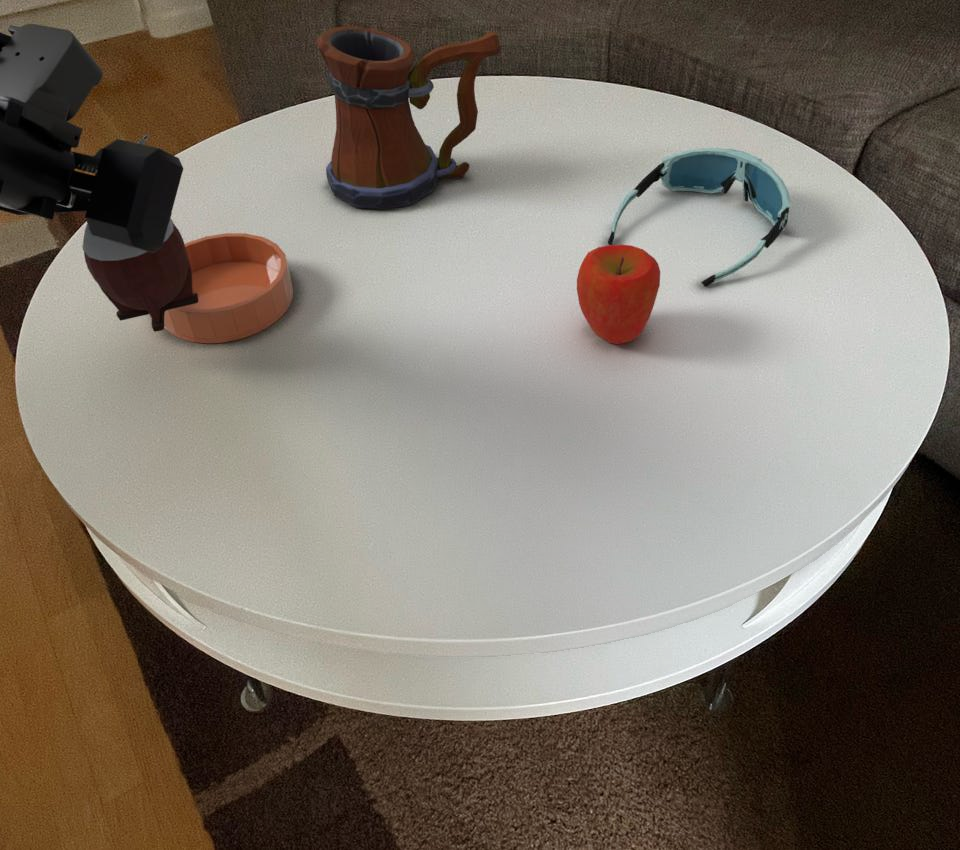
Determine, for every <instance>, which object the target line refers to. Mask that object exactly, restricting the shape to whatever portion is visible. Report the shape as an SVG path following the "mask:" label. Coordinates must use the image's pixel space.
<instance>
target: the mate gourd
mask: <svg viewBox="0 0 960 850" xmlns="http://www.w3.org/2000/svg"><path fill="white" fill-rule="evenodd" d="M148 140H149V135H148V134H144V135H143V136H142V138H141V137H140V139H139V140H138V141H137V142H136V143H138V144H142V145H145V143H146V142H147V141H148ZM184 244H185V242H184V238H183V236H182V233H181V232H180V230H179V229H178V227H177V226H176V225H175V224H174V220H173V219H172V217H171V218H170V222H169V224H168V227H167V231H166V235H165V239H164V242H163V246H162V247H161V248H160V249H158V250H157V251H155V252H154V253H151V252H147V251H143V250H140V249H136V248H133V247H129V246H125V245H122V244H118V243H115V242H112V241H109V240H105V239H102V238H99V237H96V236H93V235H92V234H91V231H90V229H89V226H88V224H87V223H86V225H85V229H84V233H83V240H82V247H81V248H82V251H83V255H84V261H85V264H86V267H87V269H88V271H89V273H90V275H91V277H92V279H94V281H95V282H96V283H97V285H98V286H99V288H100V290H101V291H102V293H103V294H104V295H105V296H106V298H107V299H108V300H109V301H110V303H111V304H112V305H113V306H114V307H115V308H116V309H117V311H116V317H117V318H118V320H119V321H125V320H129V319H134V318H139V317H142V316H143V317H144V316H148V315H149V316H150V318H151V328H152V330H153V332H160V331H163V330H165V328H164V314H165V311H166V310H170V309H174V308H178V307H182V306H187V305H191V304H195V303H198V294H197V293H193V289H192V271H191V266H190V262H189V259H188V255H187V252H186V248H185V245H184Z"/></svg>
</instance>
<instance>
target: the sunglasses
mask: <svg viewBox="0 0 960 850" xmlns="http://www.w3.org/2000/svg"><path fill="white" fill-rule="evenodd" d="M661 161H662V162H661V163H660V164H658V165H657V166H656V167H655V168H654V169H653V170H652V171H650V172H649V173H648V174H646V176H644V178H642V180H641V181H640V182H639V183H638V184H637V185H636V186H635V187H634V188H633V189H632V190H631V191H630V192H628V193H627V194H625V196H624V198H623V200H622V202H621V203H620V205H619V207H618V209H617V211H616V212H615V215H614V218H613V221H612V224H611V232H610V235H609V237H608V240H607V244H608V246H609V245H613V242H614V240H615V235H616V231H617V227H618V223H619V221H620V218H621V217H622V215H623V213H624V211H625V210H626V208H627V207H628V205H629V204H630V203H632V202H633V201H635V199H636V198H640V197H641V196H642V195H643V194H644V193H645V192H646V191H647V190H648V189H649V188H650V187H651V186H652V185H653V184H654V183H656V182H658V181H660V180H661V185H662V186H663V187H664V188H666V189H668V191H681V192H682V191H683V192H684V191H685V192H695V193H704V194H715V193H716V194H717V193H721V192H722V194H724V195H725V194H728V192H729V191H730V189H731V188H732V186H733V184H734V183H735V182H736V181H738V182H740V183H742V195H743V201H744V202H745V203H748V202H749V201H750V202H751V203H752V205H753V206H754V207H755V209H756V210H757V211H758V212H759V213H760V214H761V215H763V217H765V218H766V219H767V220H769V222H770V223H771V224H772V227H771V229H770V231H768V233H767V234H766V235H764V236H763V237H762V238H760V241H759V242H758V244H757V246H756V248H754V249H753V250H752V251H750V252H749V253H748V254H747V255H746V256H744V257H743V258H742V259H741V260H739V261H738V262H737V263H735V264H733V265H731V266H730V267H728V268H726V269H724V270H722V271H719V272H717V273H715V274H713V275H710V276H709V277H707V278H705V279H704V280H702V281H700V283H701V284H702V285H703V286H704V287H708V286H710V285H711V284H713V283H715V282H717V281H719V280H721V279H723V278H726V277H728V276H730V275H732V274H734V273H736V272H738V271H739V270H741V269H743V268H744V267H746V266H747V265H748V264H750V263H751V262H752V261H754V260H755V259H756V258H758V256H759V255H760V253H761V252H762V251H763V249H764V248H766V249H768V248H769V247H770V246H771V245H772V244H773V243H774V242H775V241H776V240H777V238H778V237H779V235H780V234H781V233H782V232H785V230H786V227H787V226H788V223H789V214H790V208H791V204H792V203H791V202H792V201H791V196H790V192H789V190H788V188H787V186H786V184H785V182H784V180H783V179H782V178H781V177H780V175H778V174H777V172H776V171H775V170H774V169H773V168H772V166H770V165H768V164H767V163H766V162H764V161H763V160H762V158H760V157H757V156H755V155H753V154H750V153H748V152H746V151H743V150H738V149H733V148H721V147H707V148H705V147H704V148H695V149H690V150H685V151H681V152H677V153H673V154H671V155H669V156H666V157H664V158H662V159H661Z"/></svg>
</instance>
